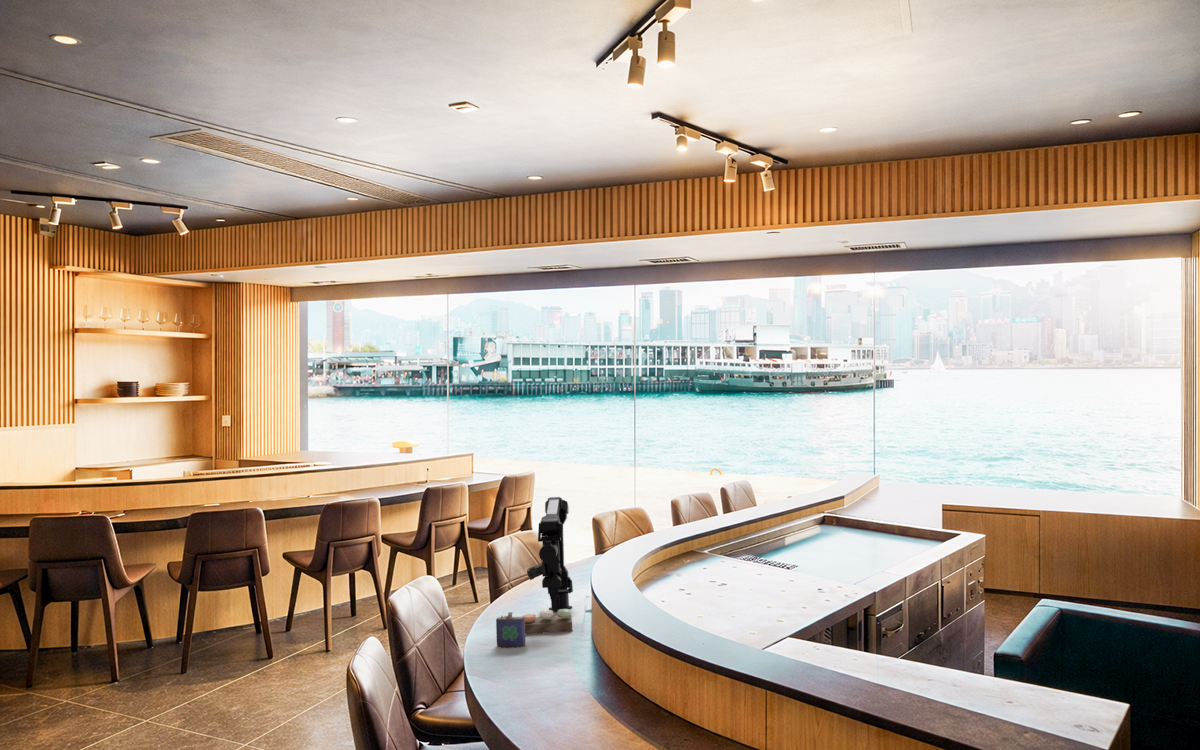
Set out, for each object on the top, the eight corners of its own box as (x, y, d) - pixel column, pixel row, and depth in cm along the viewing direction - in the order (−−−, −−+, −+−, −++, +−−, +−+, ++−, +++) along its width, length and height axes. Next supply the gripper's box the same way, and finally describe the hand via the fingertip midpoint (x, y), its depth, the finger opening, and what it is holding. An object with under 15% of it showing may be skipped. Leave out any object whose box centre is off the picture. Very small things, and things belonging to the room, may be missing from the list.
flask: (526, 644, 229) (524, 610, 230) (524, 647, 226) (523, 613, 227) (497, 645, 230) (496, 611, 230) (495, 648, 227) (494, 614, 227)
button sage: (557, 617, 243) (557, 612, 243) (557, 614, 247) (557, 609, 247) (570, 616, 243) (570, 612, 243) (570, 613, 247) (570, 608, 247)
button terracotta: (522, 623, 241) (522, 618, 242) (522, 619, 246) (522, 614, 246) (535, 622, 242) (535, 617, 242) (535, 618, 246) (535, 613, 246)
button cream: (540, 618, 242) (539, 614, 242) (540, 615, 246) (540, 610, 246) (553, 618, 242) (552, 613, 242) (553, 614, 247) (552, 609, 247)
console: (521, 634, 240) (521, 625, 240) (522, 627, 248) (522, 618, 248) (572, 631, 241) (572, 622, 241) (571, 623, 249) (571, 615, 249)
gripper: (529, 551, 254) (530, 596, 254) (526, 563, 236) (527, 611, 235) (560, 550, 255) (562, 594, 254) (560, 561, 236) (561, 609, 236)
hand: (553, 602), depth 245 cm, fingers closed
